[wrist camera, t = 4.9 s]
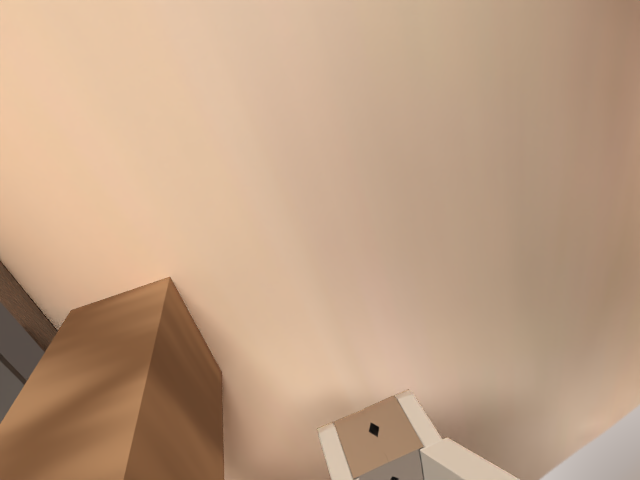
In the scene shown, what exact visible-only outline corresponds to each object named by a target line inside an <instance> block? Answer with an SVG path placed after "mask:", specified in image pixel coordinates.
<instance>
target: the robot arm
mask: <svg viewBox="0 0 640 480" xmlns="http://www.w3.org/2000/svg"><path fill="white" fill-rule="evenodd" d="M334 425H335V426H334ZM335 428H336V429H335ZM317 431H318V436H319V440H320V443H321V446H322V450H323V453H324V457H325V460H326V464H327V467H328V471H329V474H330V478H331V480H520V479H519V478H517V477H515V476H513V475H512V474H510V473H508V472H506V471H505V470H503V469H501V468H500V467H498V466H496V465H494V464H493V463H491V462H489V461H487V460H486V459H484V458H482V457H481V456H479V455H477V454H475V453H474V452H472V451H470V450H468V449H467V448H465V447H463V446H462V445H460V444H458V443H456V442H455V441H453V440H451V439H449V438H448V437H446V438H444V439H442V437H441V436H440V434H439V433H438V431H437V430H436V428H435V427H434V425H433V423H432V422H431V420H430V419H429V417H428V416H427V414H426V412H425V411H424V409H423V408H422V406H421V405H420V403H419V401H418V400H417V398H416V397H415V395H414V394H413V392H412V391H410V390H409V389H408V390H406V391H403V392H401V393H399V394H397V395H394V396H391V397H389V398H386V399H384V400H382V401H380V402H378V403H375V404H373V405H371V406H369V407H366V408H364V409H363V410H360V411H358V412H356V413H353V414H351V415H348V416H346V417H344V418H341V419H339V420H337V421H334V423H333V422H331V423H329V424H326V425H324V426H322V427H320V428H317ZM339 439H340V440H339ZM340 442H341V443H340Z"/></svg>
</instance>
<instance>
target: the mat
mask: <svg viewBox="0 0 640 480" xmlns="http://www.w3.org/2000/svg"><path fill="white" fill-rule="evenodd" d="M26 382H27V380H26V379H25V378H24V377H23V376H22V375H21V374H20V373H19V372H18V371H17V370H16V369H15V368H14V367H13V366H12V365H11V364H10V363H9V362H8V361H7V360H6V359H5V358H4V356H3V355H2V354H1V353H0V424H1V422H2V420H3V419H4V417H5V415H6V414H7V412H8V411H9V409H10V407H11V406H12V404H13V403H14V401H15V399H16V398H17V396H18V395H19V393H20V391H21V390H22V388H23V387H24V385H25V383H26Z"/></svg>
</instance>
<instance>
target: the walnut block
mask: <svg viewBox="0 0 640 480" xmlns="http://www.w3.org/2000/svg"><path fill="white" fill-rule="evenodd" d="M0 480H224V454H223V410H222V372H221V370H220V368H219V366H218V364H217V363H216V361H215V359H214V357H213V355H212V353H211V352H210V350H209V348H208V346H207V344H206V342H205V341H204V339H203V337H202V335H201V333H200V331H199V330H198V328H197V326H196V324H195V322H194V320H193V319H192V317H191V315H190V313H189V311H188V309H187V308H186V306H185V304H184V302H183V300H182V298H181V296H180V295H179V293H178V291H177V289H176V287H175V285H174V284H173V282H172V280H171V278H170V277H168V278H165V279H162V280H159V281H156V282H153V283H150V284H147V285H144V286H142V287H139V288H136V289H133V290H130V291H127V292H124V293H121V294H118V295H115V296H112V297H109V298H106V299H103V300H100V301H97V302H94V303H91V304H88V305H86V306H83V307H80V308H77V309H74V310H71V311H70V313H69V314H68V316H67V318H66V319H65V321H64V322H63V324H62V326H61V327H60V329H59V330H58V332H57V334H56V335H55V337H54V338H53V340H52V342H51V343H50V345H49V346H48V348H47V350H46V351H45V353H44V355H43V356H42V358H41V359H40V361H39V363H38V364H37V366H36V367H35V369H34V371H33V372H32V374H31V375H30V377H29V379H28V380H27V382H26V383H25V385H24V387H23V388H22V390H21V391H20V393H19V395H18V396H17V398H16V399H15V401H14V403H13V404H12V406H11V407H10V409H9V411H8V412H7V414H6V415H5V417H4V419H3V420H2V422H1V424H0Z"/></svg>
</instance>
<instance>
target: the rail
mask: <svg viewBox="0 0 640 480" xmlns="http://www.w3.org/2000/svg"><path fill="white" fill-rule="evenodd" d="M56 334H57V330H56V329H55V328H54V327H53V326H52V324H51V323H50V322H49V321H48V319H47V318H46V317H45V316H44V315H43V313H42V312H41V311H40V310H39V308H38V307H37V306H36V305H35V304H34V302H33V301H32V300H31V299H30V297H29V296H28V295H27V294H26V293H25V291H24V290H23V289H22V288H21V286H20V285H19V284H18V283H17V282H16V280H15V279H14V278H13V277H12V276H11V274H10V273H9V272H8V271H7V269H6V268H5V267H4V266H3V265H2V263H1V262H0V353H1V354H2V355H3V356H4V358H5V359H6V360H7V361H8V362H9V363H10V364H11V365H12V366H13V367H14V368H15V369H16V370H17V371H18V372H19V373H20V374H21V375H22V376H23V377H24V378H25V379H26V380H28V379H29V377H30V375H31V374H32V372H33V371H34V369H35V367H36V366H37V364H38V363H39V361H40V359H41V358H42V356H43V355H44V353H45V351H46V350H47V348H48V346H49V345H50V343H51V342H52V340H53V338H54V337H55V335H56Z"/></svg>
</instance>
